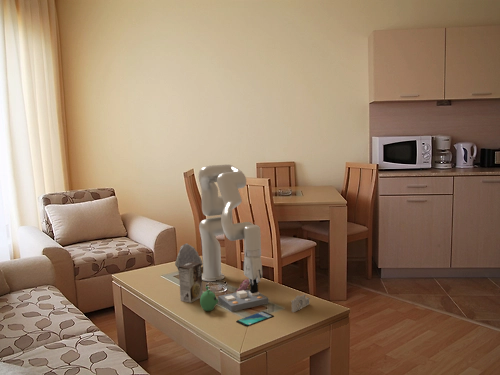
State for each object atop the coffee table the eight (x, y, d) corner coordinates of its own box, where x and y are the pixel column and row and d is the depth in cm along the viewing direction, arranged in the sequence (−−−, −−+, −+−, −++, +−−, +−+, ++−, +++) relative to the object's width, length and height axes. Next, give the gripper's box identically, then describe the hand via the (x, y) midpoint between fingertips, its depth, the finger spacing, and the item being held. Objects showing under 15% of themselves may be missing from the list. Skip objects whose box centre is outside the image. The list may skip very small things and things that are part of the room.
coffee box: (192, 294, 219) (190, 261, 217) (203, 296, 216) (201, 262, 214) (179, 300, 212) (178, 266, 210) (191, 303, 208) (189, 268, 206)
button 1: (224, 302, 206) (224, 296, 205) (231, 301, 207) (231, 295, 207) (227, 305, 203) (227, 299, 202) (235, 303, 204) (235, 297, 204)
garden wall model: (306, 303, 203) (306, 290, 203) (310, 304, 202) (310, 291, 202) (290, 312, 194) (290, 298, 194) (294, 313, 193) (294, 299, 192)
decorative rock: (177, 273, 253) (176, 246, 251) (173, 270, 259) (172, 244, 257) (205, 268, 260) (204, 242, 259) (200, 265, 266) (199, 240, 264)
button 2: (248, 297, 211) (248, 291, 211) (255, 296, 213) (255, 290, 213) (252, 299, 208) (252, 294, 208) (259, 298, 210) (259, 292, 209)
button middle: (236, 297, 208) (236, 291, 208) (243, 295, 210) (243, 290, 210) (240, 299, 205) (239, 293, 205) (247, 298, 207) (247, 292, 206)
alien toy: (219, 312, 196) (218, 289, 195) (201, 314, 195) (200, 291, 194) (217, 306, 203) (216, 284, 202) (199, 308, 202) (198, 286, 200)
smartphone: (274, 315, 190) (246, 326, 181) (274, 317, 190) (246, 327, 181) (263, 310, 196) (235, 320, 186) (263, 312, 196) (235, 322, 186)
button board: (218, 301, 209) (218, 295, 209) (253, 294, 217) (253, 288, 217) (231, 311, 197) (231, 305, 196) (268, 303, 205) (268, 297, 204)
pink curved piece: (243, 298, 217) (249, 285, 215) (234, 293, 217) (240, 281, 216) (247, 291, 226) (253, 278, 225) (239, 286, 227) (245, 274, 225)
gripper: (237, 250, 213) (239, 289, 215) (253, 257, 200) (254, 298, 202) (252, 248, 216) (253, 286, 218) (268, 255, 203) (269, 295, 205)
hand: (254, 292), depth 210 cm, fingers closed
